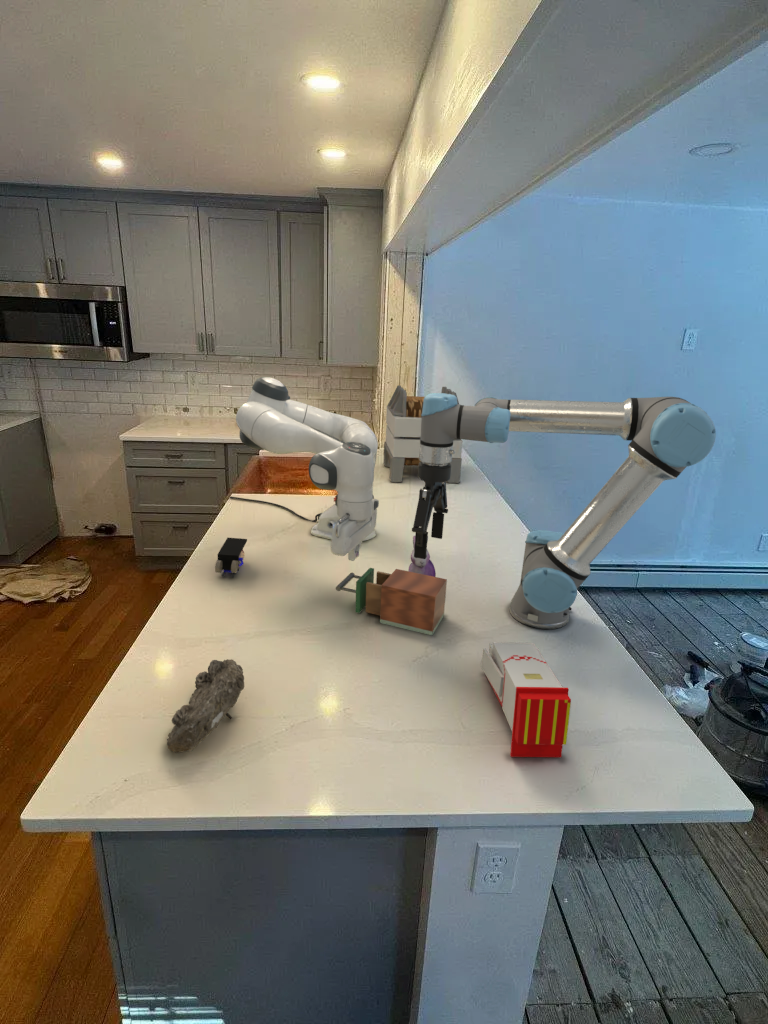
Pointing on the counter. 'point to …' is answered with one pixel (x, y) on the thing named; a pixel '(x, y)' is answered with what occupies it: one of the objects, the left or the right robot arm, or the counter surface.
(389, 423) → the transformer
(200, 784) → the counter surface
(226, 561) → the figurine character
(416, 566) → the figurine
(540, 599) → the right robot arm
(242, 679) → the fossil
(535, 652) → the toy
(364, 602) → the drawer
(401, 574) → the cabinet
